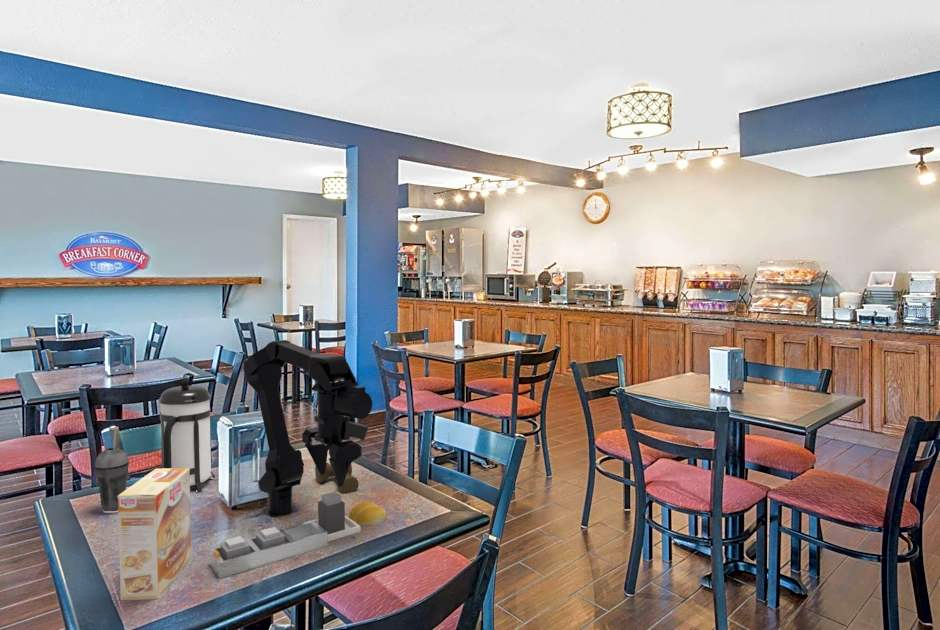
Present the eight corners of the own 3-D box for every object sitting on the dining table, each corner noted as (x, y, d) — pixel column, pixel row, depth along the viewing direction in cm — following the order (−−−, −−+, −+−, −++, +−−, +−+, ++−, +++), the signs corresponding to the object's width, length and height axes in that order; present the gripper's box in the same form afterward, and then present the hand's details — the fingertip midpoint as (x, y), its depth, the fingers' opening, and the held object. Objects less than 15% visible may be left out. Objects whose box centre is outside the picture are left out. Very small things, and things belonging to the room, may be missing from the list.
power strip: (209, 566, 115) (209, 546, 115) (313, 536, 129) (313, 518, 129) (219, 581, 110) (219, 560, 109) (327, 547, 123) (327, 529, 123)
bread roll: (363, 532, 132) (363, 515, 132) (344, 519, 139) (344, 503, 138) (394, 522, 137) (394, 505, 137) (374, 510, 144) (374, 494, 144)
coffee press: (144, 486, 158) (141, 378, 156) (204, 472, 170) (202, 371, 168) (166, 504, 146) (163, 387, 144) (229, 488, 158) (227, 379, 156)
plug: (318, 528, 131) (318, 494, 131) (336, 523, 134) (336, 490, 134) (326, 535, 128) (326, 500, 127) (344, 530, 131) (344, 496, 130)
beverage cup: (88, 513, 140) (86, 432, 139) (117, 502, 147) (114, 425, 146) (109, 518, 137) (106, 435, 136) (137, 507, 144) (135, 428, 143)
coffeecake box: (160, 601, 103) (157, 494, 101) (118, 603, 102) (114, 495, 101) (193, 560, 118) (191, 466, 116) (157, 561, 117) (154, 467, 116)
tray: (302, 530, 132) (302, 522, 132) (341, 519, 138) (341, 512, 138) (320, 546, 124) (320, 537, 124) (360, 534, 130) (360, 526, 130)
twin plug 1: (220, 564, 115) (220, 539, 115) (243, 557, 118) (242, 533, 118) (227, 572, 112) (226, 547, 111) (250, 566, 115) (250, 541, 114)
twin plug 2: (256, 553, 120) (255, 530, 119) (277, 547, 122) (276, 524, 122) (263, 562, 116) (263, 537, 116) (284, 555, 119) (284, 531, 119)
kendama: (332, 500, 151) (310, 475, 168) (366, 494, 156) (342, 471, 173) (332, 478, 151) (310, 455, 168) (367, 473, 156) (342, 451, 173)
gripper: (383, 415, 127) (383, 484, 128) (344, 400, 141) (344, 462, 143) (336, 422, 120) (337, 495, 121) (301, 406, 135) (301, 471, 136)
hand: (331, 480), depth 130 cm, fingers open, 9 cm apart
